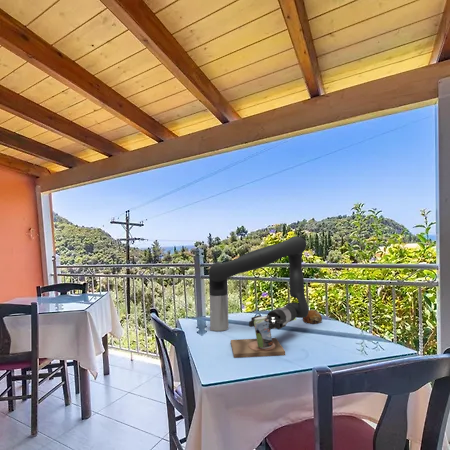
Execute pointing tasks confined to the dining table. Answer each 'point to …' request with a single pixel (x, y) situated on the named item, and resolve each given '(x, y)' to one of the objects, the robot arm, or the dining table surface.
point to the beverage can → (263, 332)
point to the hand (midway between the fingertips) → (258, 326)
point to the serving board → (255, 348)
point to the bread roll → (313, 317)
